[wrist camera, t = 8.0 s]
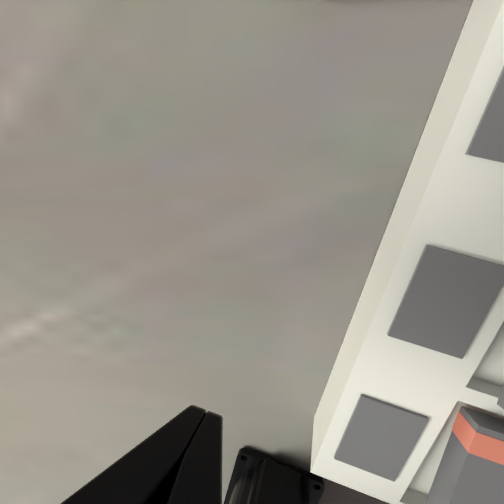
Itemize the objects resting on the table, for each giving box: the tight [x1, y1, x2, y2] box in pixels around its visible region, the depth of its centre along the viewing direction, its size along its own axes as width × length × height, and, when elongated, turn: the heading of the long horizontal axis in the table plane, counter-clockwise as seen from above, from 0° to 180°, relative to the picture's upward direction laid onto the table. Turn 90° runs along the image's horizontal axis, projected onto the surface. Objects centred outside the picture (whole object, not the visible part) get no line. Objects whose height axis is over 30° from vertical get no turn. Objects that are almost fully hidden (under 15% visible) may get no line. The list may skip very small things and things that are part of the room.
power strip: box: [310, 0, 504, 504], centre depth 15 cm, size 24×10×4 cm, turn 168°
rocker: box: [425, 406, 504, 504], centre depth 15 cm, size 6×3×2 cm, turn 167°
